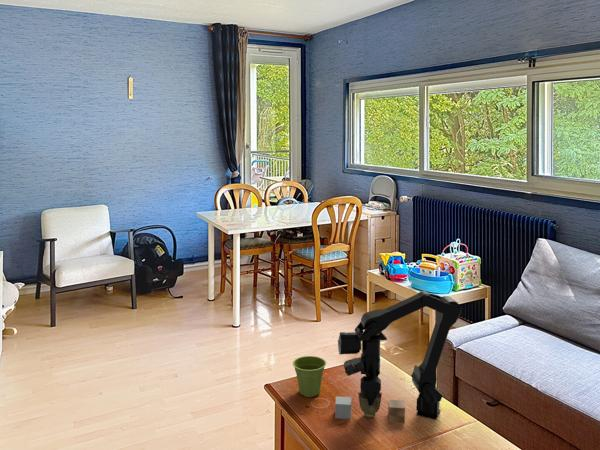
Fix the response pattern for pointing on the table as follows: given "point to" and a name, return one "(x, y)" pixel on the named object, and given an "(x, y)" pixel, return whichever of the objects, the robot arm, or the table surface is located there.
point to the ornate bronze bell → (368, 410)
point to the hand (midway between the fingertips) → (370, 398)
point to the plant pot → (309, 374)
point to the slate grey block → (343, 407)
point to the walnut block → (396, 411)
